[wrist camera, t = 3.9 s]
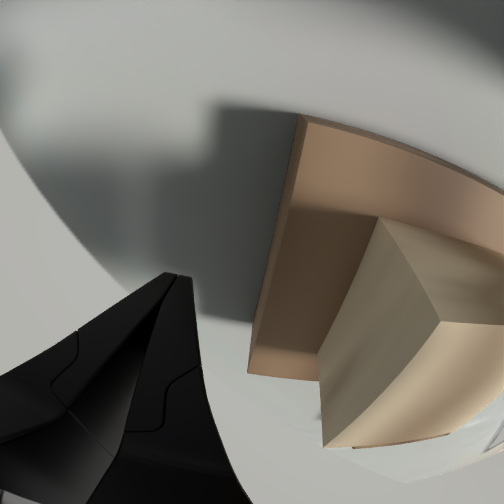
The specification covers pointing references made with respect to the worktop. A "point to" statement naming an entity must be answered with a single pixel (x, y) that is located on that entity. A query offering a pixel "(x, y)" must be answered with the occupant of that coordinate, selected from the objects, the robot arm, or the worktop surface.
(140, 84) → the worktop surface
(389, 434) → the beech block
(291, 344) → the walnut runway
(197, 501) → the robot arm
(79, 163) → the worktop surface
